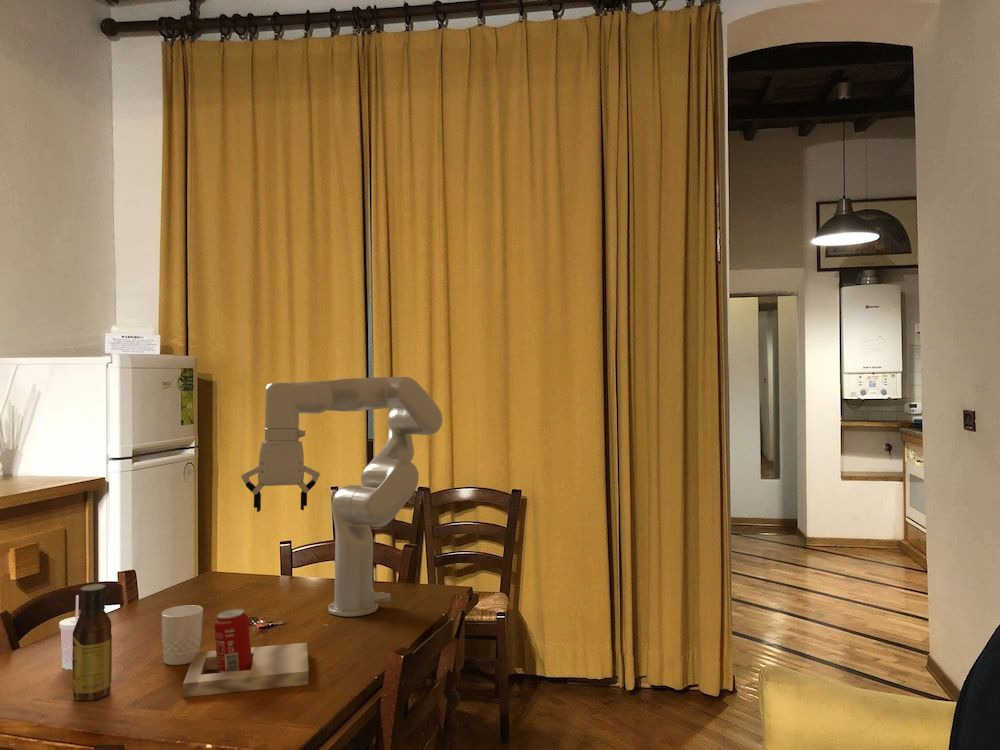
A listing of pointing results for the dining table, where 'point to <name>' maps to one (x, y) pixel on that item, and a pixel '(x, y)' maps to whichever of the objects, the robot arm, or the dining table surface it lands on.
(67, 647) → the beverage cup
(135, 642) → the dining table surface
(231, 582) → the dining table surface
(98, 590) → the sauce bottle
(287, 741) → the dining table surface
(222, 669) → the beverage can
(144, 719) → the dining table surface
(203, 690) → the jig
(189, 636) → the white cup
